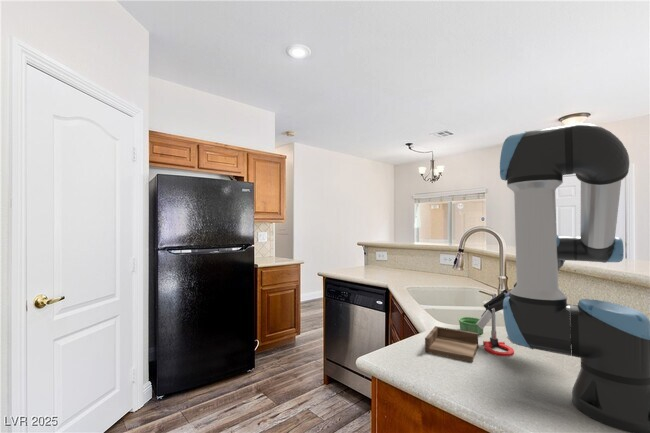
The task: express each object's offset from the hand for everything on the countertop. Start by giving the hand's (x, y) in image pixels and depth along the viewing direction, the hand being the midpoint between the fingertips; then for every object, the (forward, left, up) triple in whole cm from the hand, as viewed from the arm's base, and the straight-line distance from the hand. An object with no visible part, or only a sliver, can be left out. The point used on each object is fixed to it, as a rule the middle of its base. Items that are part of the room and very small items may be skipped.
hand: (493, 333), depth 102 cm
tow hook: (+1, -1, -6) cm, 6 cm away
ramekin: (+16, +9, -6) cm, 19 cm away
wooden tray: (-6, +12, -6) cm, 14 cm away
